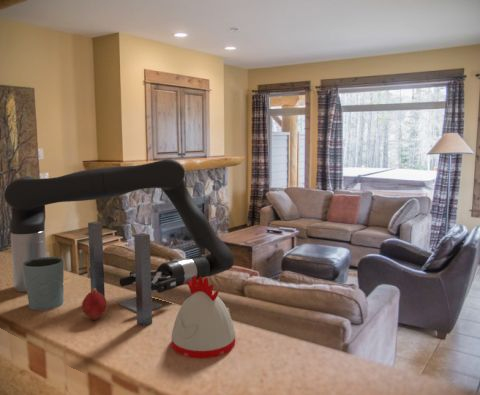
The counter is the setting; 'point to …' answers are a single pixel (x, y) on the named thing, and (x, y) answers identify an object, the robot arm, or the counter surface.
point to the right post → (143, 279)
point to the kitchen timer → (203, 323)
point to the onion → (94, 304)
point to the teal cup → (44, 282)
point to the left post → (96, 256)
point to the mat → (132, 304)
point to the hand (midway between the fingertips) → (129, 286)
